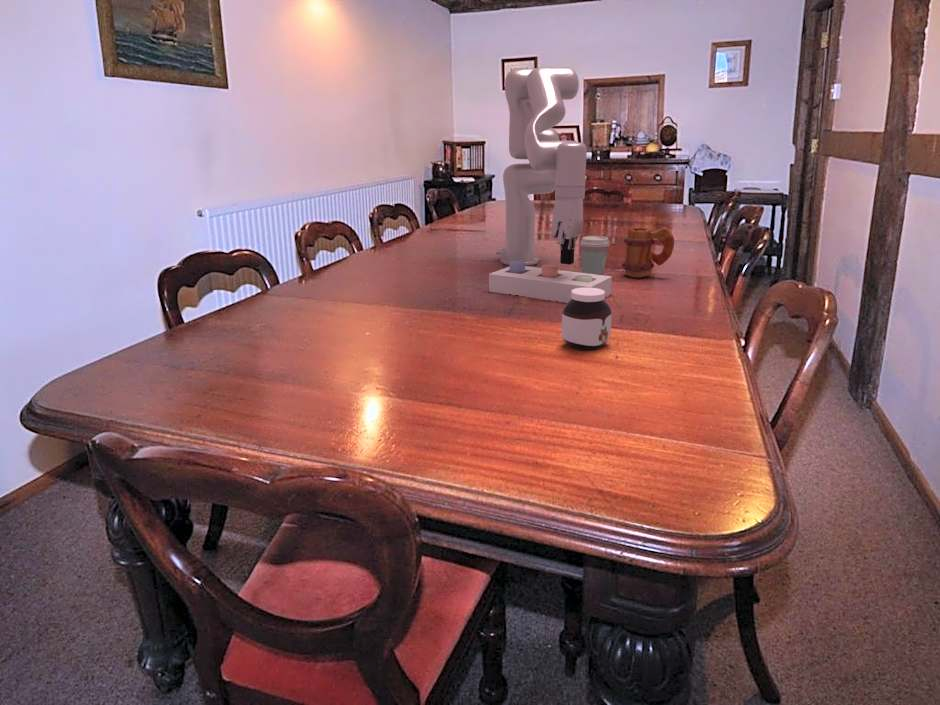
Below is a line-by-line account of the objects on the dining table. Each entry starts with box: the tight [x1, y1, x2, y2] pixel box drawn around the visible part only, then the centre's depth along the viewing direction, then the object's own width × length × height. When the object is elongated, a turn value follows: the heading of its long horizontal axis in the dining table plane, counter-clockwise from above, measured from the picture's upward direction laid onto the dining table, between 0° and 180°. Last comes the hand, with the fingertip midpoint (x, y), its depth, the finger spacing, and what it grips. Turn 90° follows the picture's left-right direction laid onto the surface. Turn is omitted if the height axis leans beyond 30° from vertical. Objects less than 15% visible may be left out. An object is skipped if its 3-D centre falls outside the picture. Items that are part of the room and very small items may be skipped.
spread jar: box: [560, 287, 613, 351], centre depth 138 cm, size 12×11×12 cm
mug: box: [621, 226, 675, 279], centre depth 194 cm, size 15×8×15 cm, turn 62°
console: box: [488, 265, 613, 304], centre depth 179 cm, size 30×14×5 cm, turn 57°
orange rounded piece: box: [541, 263, 559, 278], centre depth 178 cm, size 4×4×5 cm
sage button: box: [575, 275, 592, 283], centre depth 174 cm, size 4×4×5 cm
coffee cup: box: [579, 235, 610, 275], centre depth 194 cm, size 8×8×12 cm
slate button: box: [509, 261, 526, 274], centre depth 183 cm, size 4×4×5 cm
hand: (567, 263), depth 175 cm, fingers closed
